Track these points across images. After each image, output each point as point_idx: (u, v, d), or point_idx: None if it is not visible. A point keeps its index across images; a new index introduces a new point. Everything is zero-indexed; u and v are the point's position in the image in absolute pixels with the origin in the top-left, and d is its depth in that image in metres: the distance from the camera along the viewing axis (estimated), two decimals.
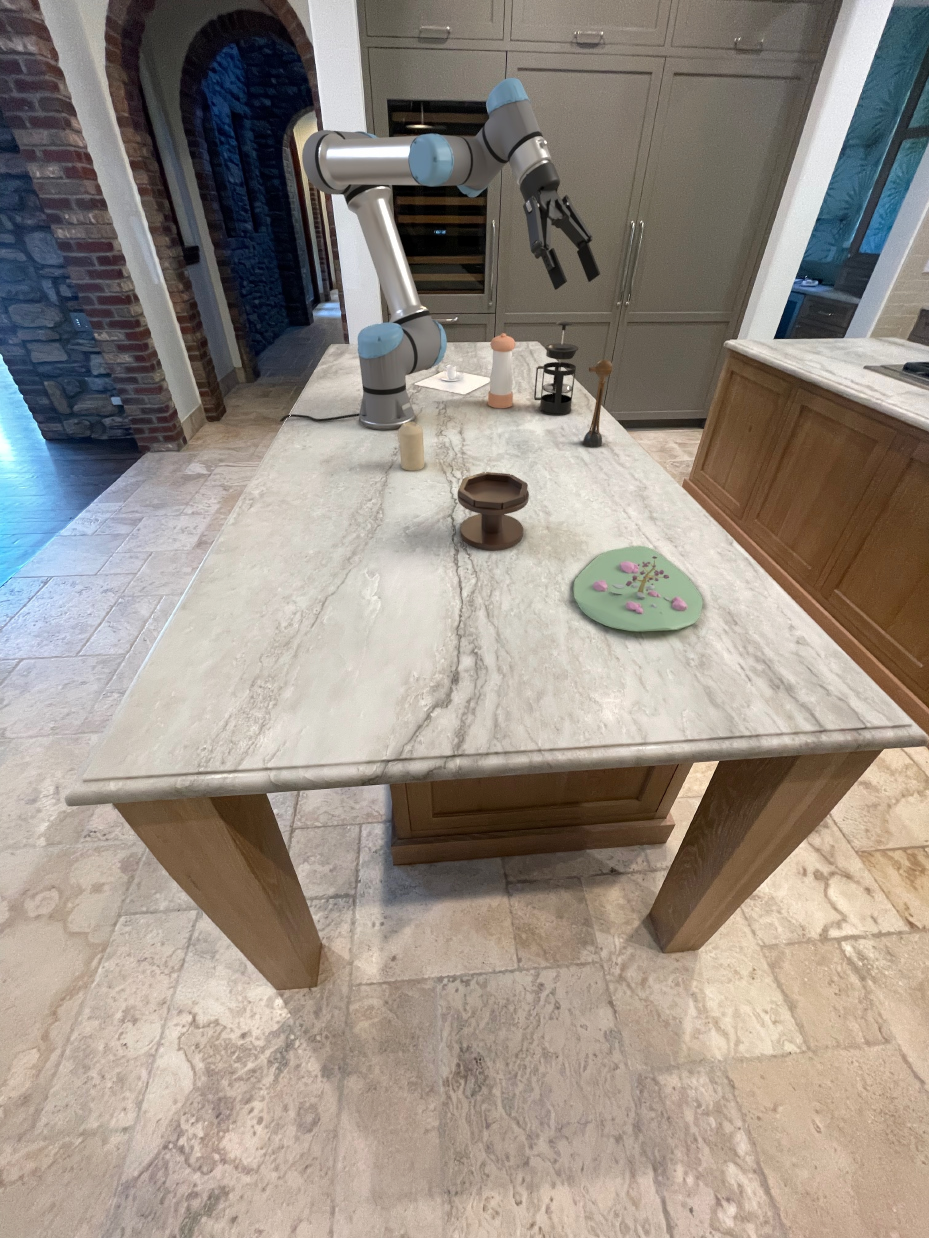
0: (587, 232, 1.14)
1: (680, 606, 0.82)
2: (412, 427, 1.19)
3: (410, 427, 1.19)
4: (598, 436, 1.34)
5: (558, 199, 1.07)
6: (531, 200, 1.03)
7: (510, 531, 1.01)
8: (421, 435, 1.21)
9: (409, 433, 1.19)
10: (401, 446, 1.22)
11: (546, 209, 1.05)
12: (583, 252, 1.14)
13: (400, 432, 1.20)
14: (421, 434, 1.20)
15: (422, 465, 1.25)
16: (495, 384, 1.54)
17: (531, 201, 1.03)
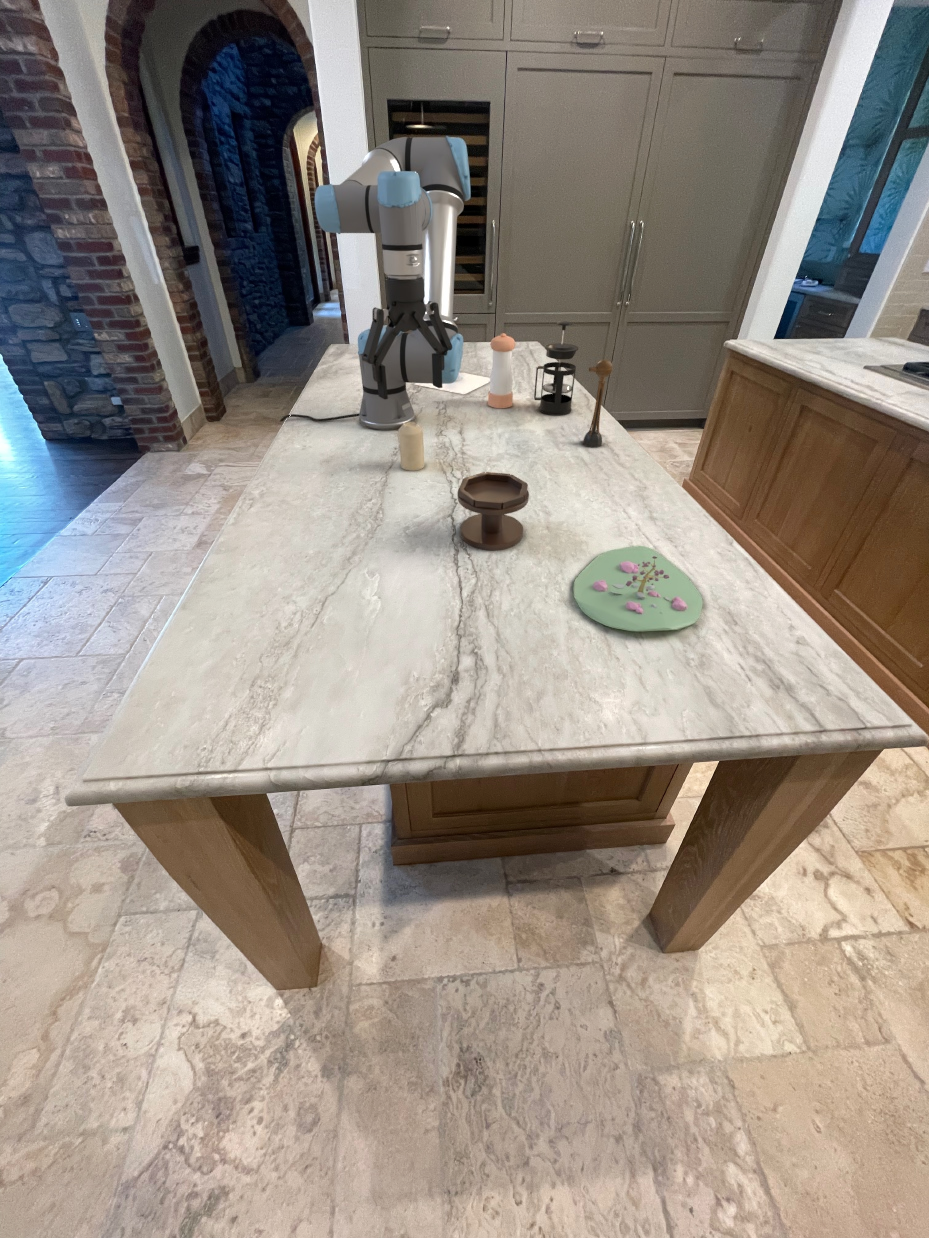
0: (447, 343, 1.13)
1: (680, 606, 0.82)
2: (412, 427, 1.19)
3: (410, 427, 1.19)
4: (598, 436, 1.34)
5: (416, 313, 1.05)
6: (377, 313, 1.02)
7: (510, 531, 1.01)
8: (421, 435, 1.21)
9: (409, 433, 1.19)
10: (401, 446, 1.22)
11: (396, 322, 1.05)
12: (435, 360, 1.15)
13: (400, 432, 1.20)
14: (421, 434, 1.20)
15: (422, 465, 1.25)
16: (495, 384, 1.54)
17: (377, 314, 1.02)
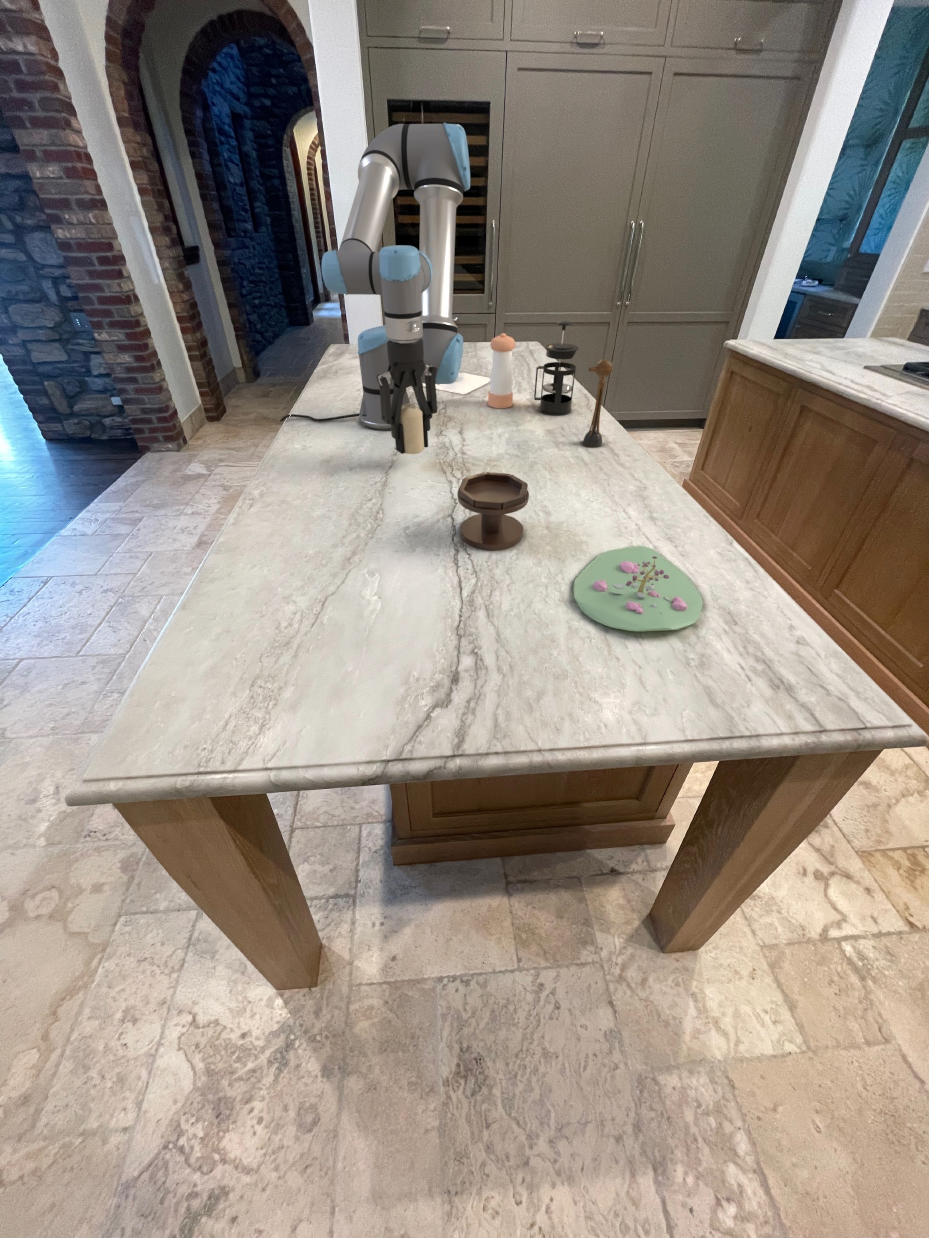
0: (433, 406, 1.20)
1: (680, 606, 0.82)
2: (411, 409, 1.17)
3: (409, 409, 1.17)
4: (598, 436, 1.34)
5: (416, 371, 1.12)
6: (381, 381, 1.10)
7: (510, 531, 1.01)
8: (420, 417, 1.18)
9: (409, 416, 1.17)
10: None
11: (399, 382, 1.12)
12: None
13: None
14: (420, 416, 1.18)
15: (422, 448, 1.23)
16: (495, 384, 1.54)
17: (381, 382, 1.10)
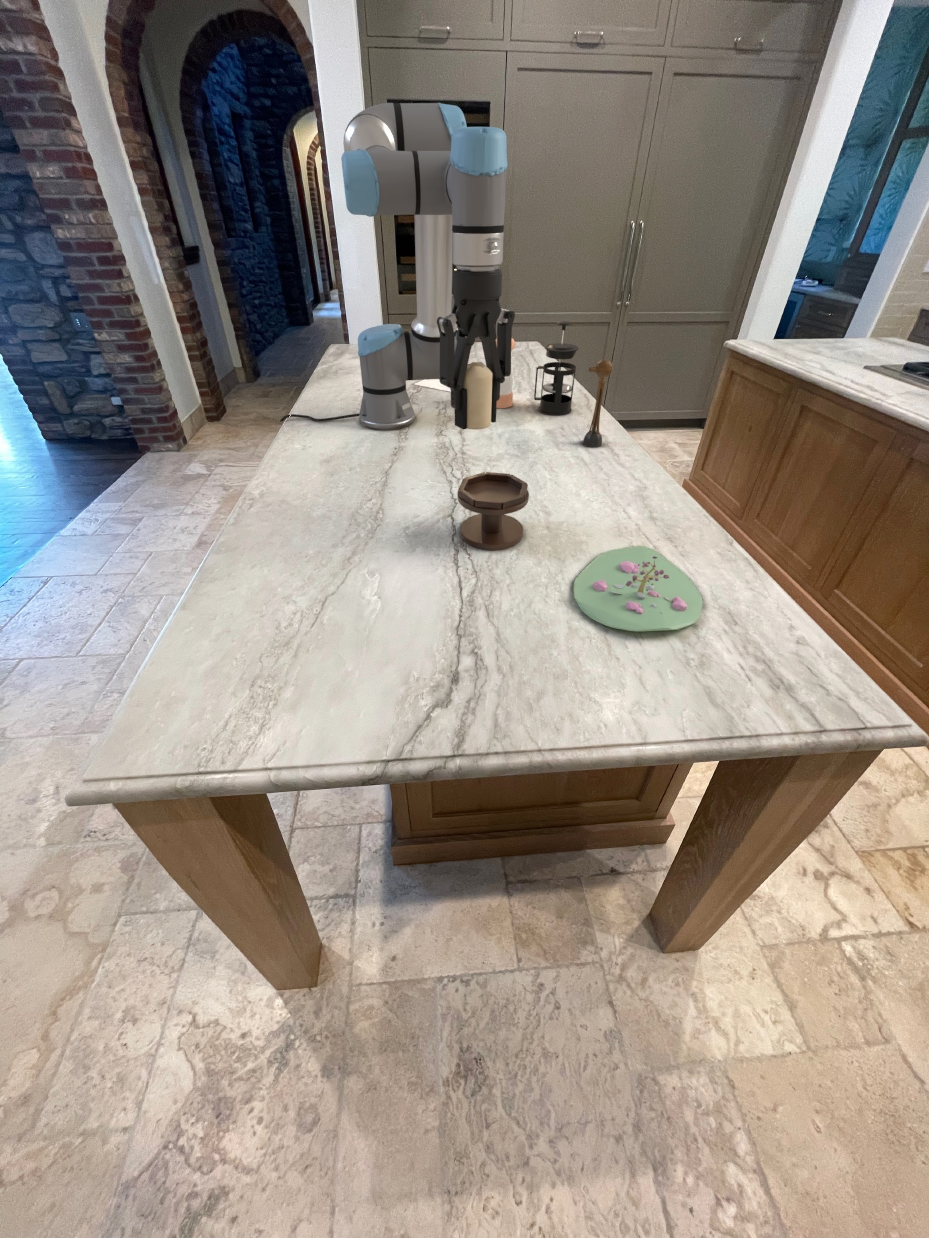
0: (507, 366, 0.91)
1: (680, 606, 0.82)
2: (479, 368, 0.88)
3: (477, 368, 0.87)
4: (598, 436, 1.34)
5: (490, 314, 0.83)
6: (444, 326, 0.81)
7: (510, 531, 1.01)
8: (490, 380, 0.89)
9: (476, 376, 0.87)
10: None
11: (467, 329, 0.83)
12: None
13: None
14: (490, 378, 0.89)
15: (489, 423, 0.93)
16: None
17: (444, 327, 0.81)
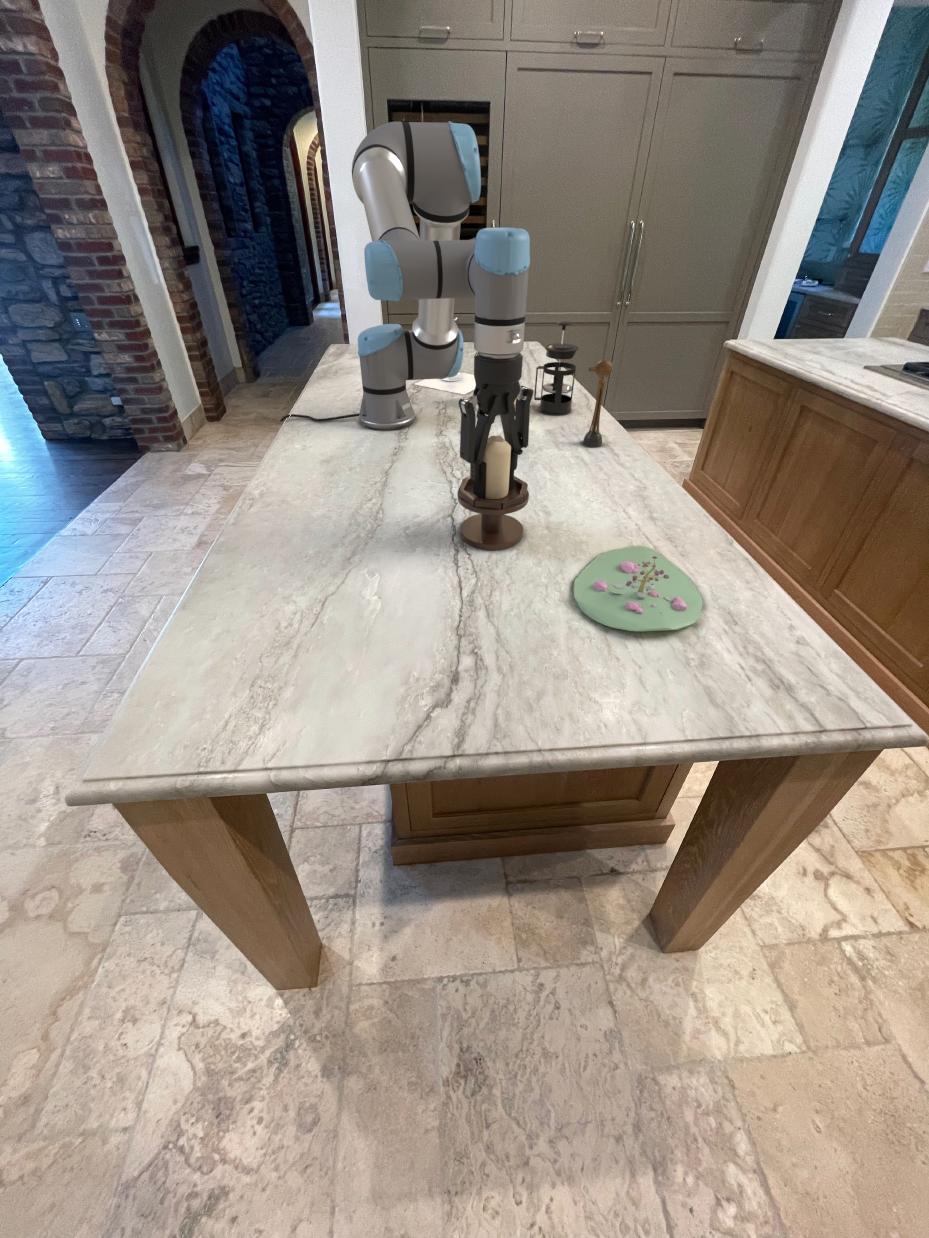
0: (524, 438, 0.93)
1: (680, 606, 0.82)
2: (499, 443, 0.90)
3: (496, 443, 0.90)
4: (598, 436, 1.34)
5: (510, 395, 0.85)
6: (466, 408, 0.83)
7: (510, 531, 1.01)
8: (509, 453, 0.91)
9: (495, 451, 0.90)
10: None
11: (488, 409, 0.86)
12: None
13: None
14: (509, 452, 0.91)
15: (506, 492, 0.96)
16: None
17: (466, 409, 0.83)
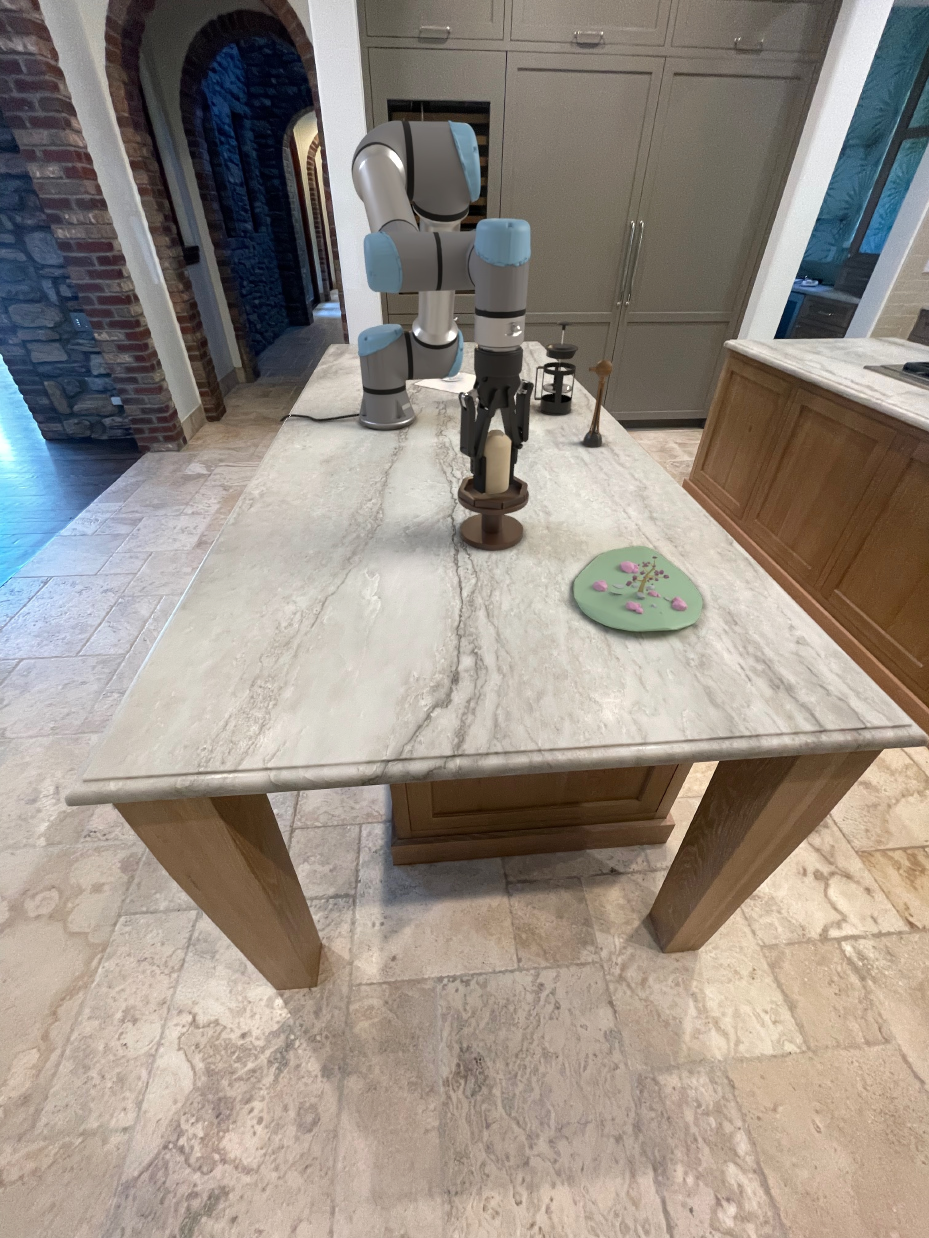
0: (525, 432, 0.92)
1: (680, 606, 0.82)
2: (499, 437, 0.89)
3: (496, 437, 0.89)
4: (598, 436, 1.34)
5: (510, 388, 0.85)
6: (466, 402, 0.83)
7: (510, 531, 1.01)
8: (509, 447, 0.91)
9: (496, 445, 0.89)
10: None
11: (488, 403, 0.85)
12: None
13: None
14: (509, 446, 0.91)
15: (507, 486, 0.95)
16: None
17: (466, 403, 0.83)
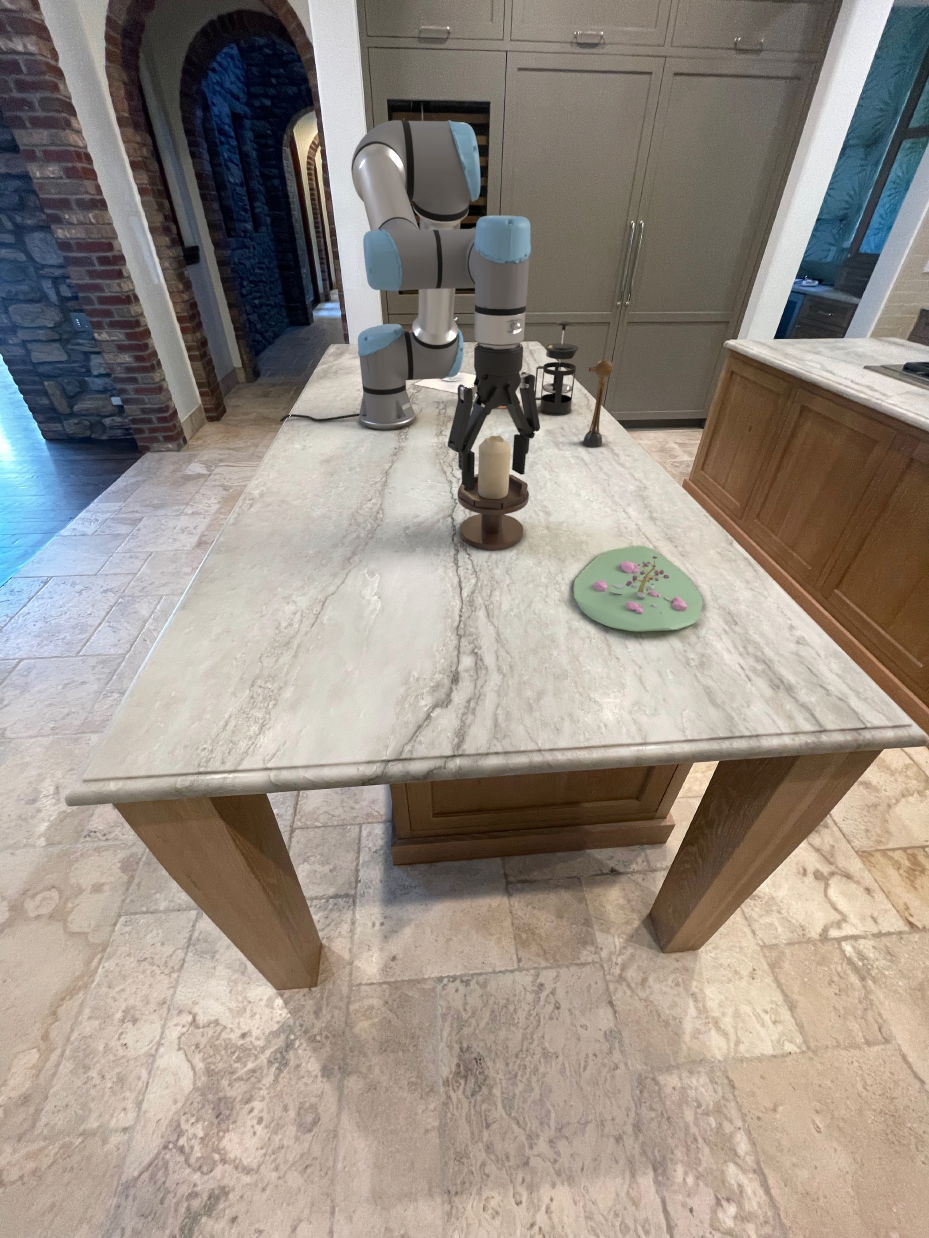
0: (535, 423, 0.92)
1: (680, 606, 0.82)
2: (498, 443, 0.90)
3: (496, 443, 0.90)
4: (598, 436, 1.34)
5: (510, 387, 0.84)
6: (465, 393, 0.82)
7: (510, 531, 1.01)
8: (509, 453, 0.91)
9: (495, 451, 0.90)
10: (482, 468, 0.92)
11: (486, 399, 0.84)
12: (518, 442, 0.94)
13: (482, 450, 0.91)
14: (509, 452, 0.91)
15: (506, 492, 0.96)
16: None
17: (465, 394, 0.82)
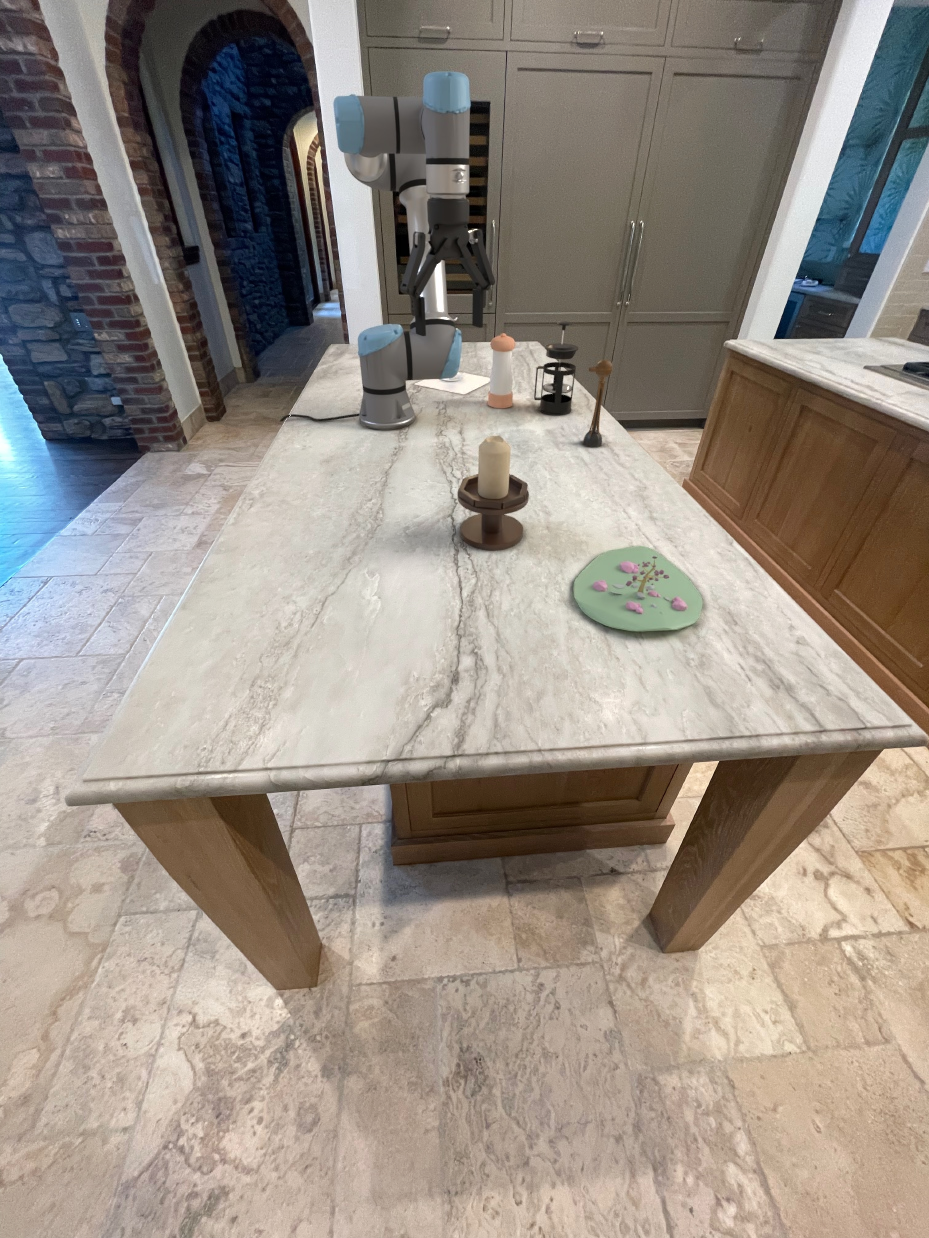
0: (489, 277, 1.06)
1: (680, 606, 0.82)
2: (498, 443, 0.90)
3: (496, 443, 0.90)
4: (598, 436, 1.34)
5: (459, 239, 0.98)
6: (419, 237, 0.95)
7: (510, 531, 1.01)
8: (509, 453, 0.91)
9: (495, 451, 0.90)
10: (482, 468, 0.92)
11: (438, 248, 0.97)
12: (476, 296, 1.07)
13: (482, 450, 0.91)
14: (509, 452, 0.91)
15: (506, 492, 0.96)
16: (495, 384, 1.54)
17: (418, 238, 0.95)
